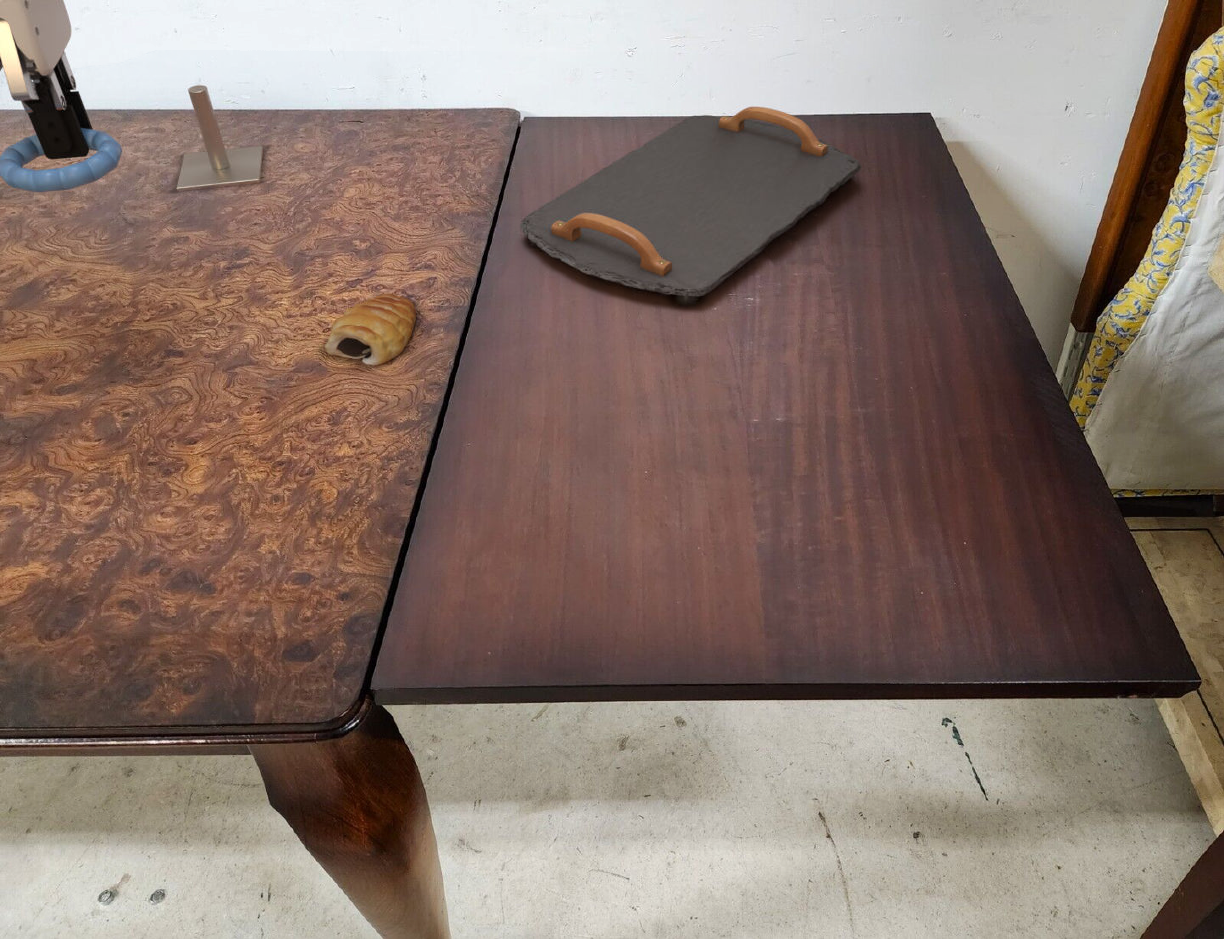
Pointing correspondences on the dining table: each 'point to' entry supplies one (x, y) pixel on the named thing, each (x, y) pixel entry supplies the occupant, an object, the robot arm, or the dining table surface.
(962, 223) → the dining table surface
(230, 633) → the dining table surface
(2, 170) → the ring
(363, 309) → the pastry
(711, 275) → the serving tray
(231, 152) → the peg on square base
